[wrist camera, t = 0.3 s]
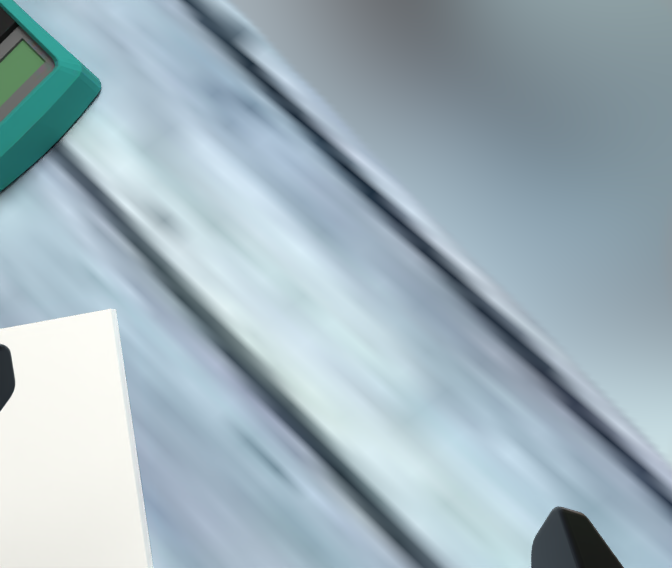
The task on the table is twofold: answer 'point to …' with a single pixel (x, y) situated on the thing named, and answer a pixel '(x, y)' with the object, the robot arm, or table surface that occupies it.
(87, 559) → the white mat
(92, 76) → the digital multimeter
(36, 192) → the table surface
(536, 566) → the robot arm
